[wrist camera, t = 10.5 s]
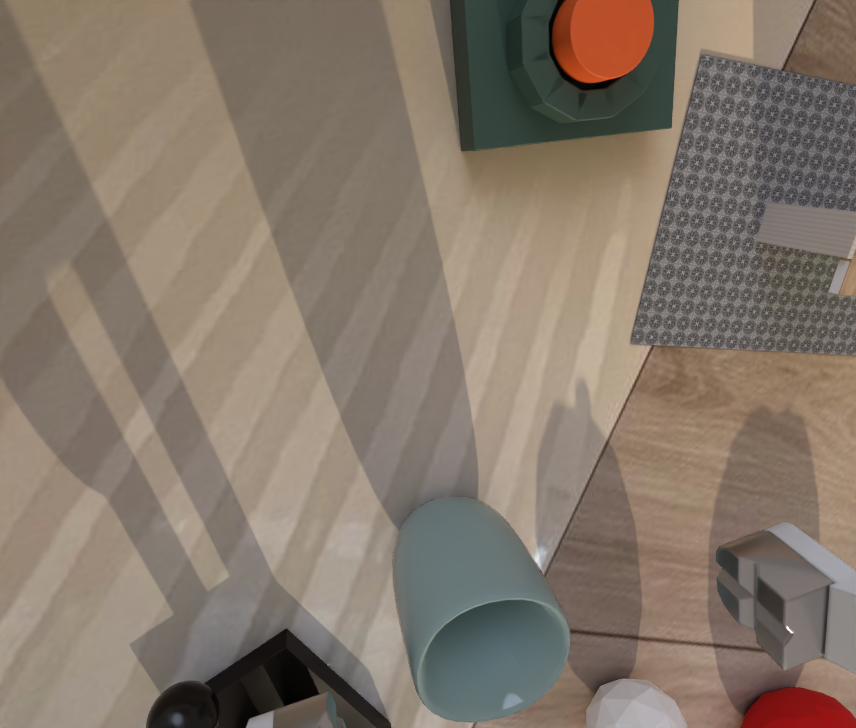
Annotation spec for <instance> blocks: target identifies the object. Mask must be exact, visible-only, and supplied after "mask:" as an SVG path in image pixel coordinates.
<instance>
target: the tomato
mask: <svg viewBox="0 0 856 728" xmlns="http://www.w3.org/2000/svg"><path fill="white" fill-rule="evenodd" d="M741 728H856V719H855V717H854V716H853V715H852V713H851V712H850V711H849V710H848V709H846V708H845V707H844V706H843V705H842V704H841V703H840V702H838V701H837V700H836V699H835V698H832V697H830V696H828V695H825V694H823V693H820V692H816V691H812V690H808V689H804V688H795V687H788V688H784V689H780V690H776V691H772V692H768V693H764V694H762V695H761V696H760V697H759V698H758V700H757V701H756V702H755V703H754V704H753V705H752V706H751V707H750V708H749V710H748V711H747V713H746V715H745V718H744V720H743V723H742V725H741Z"/></svg>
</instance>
